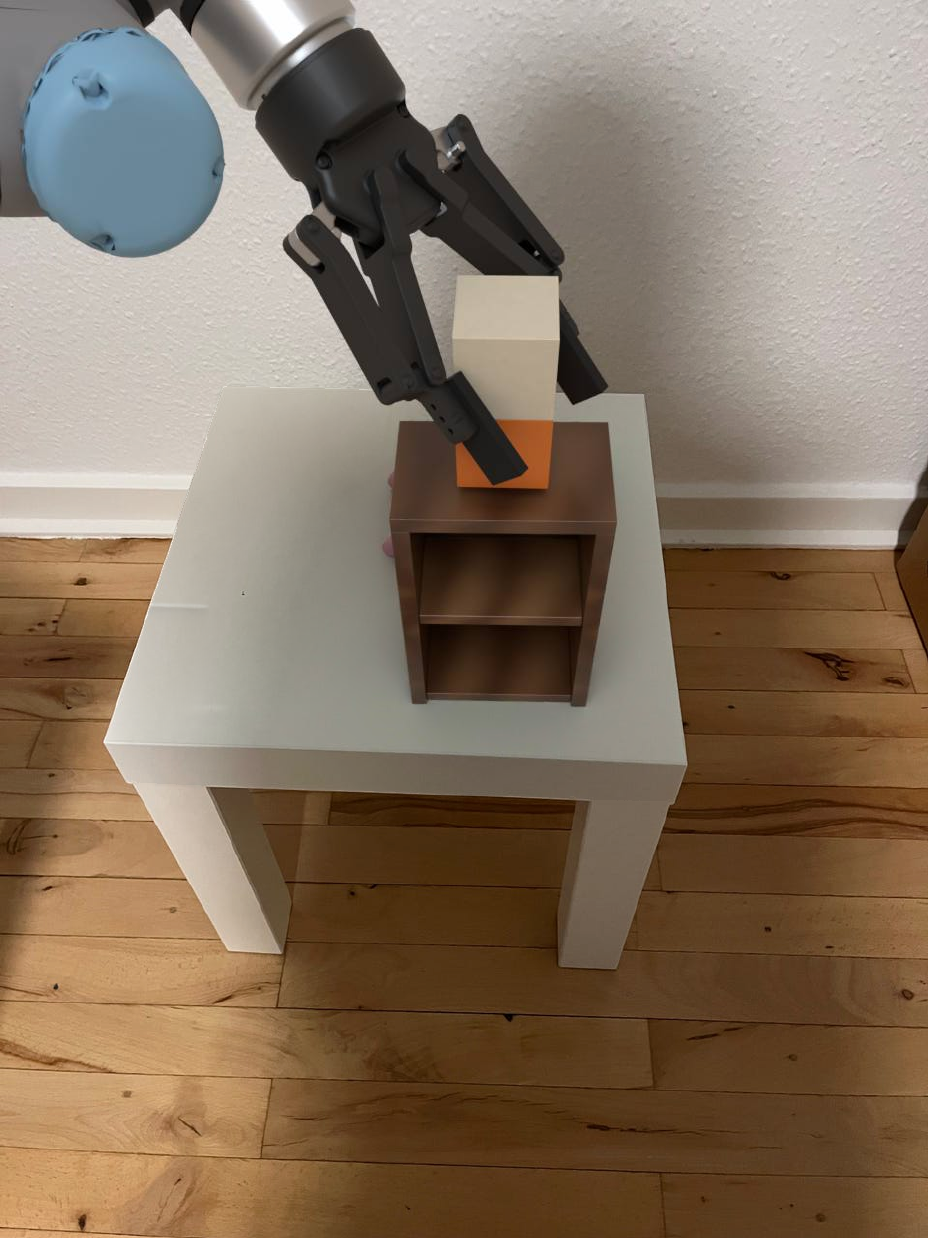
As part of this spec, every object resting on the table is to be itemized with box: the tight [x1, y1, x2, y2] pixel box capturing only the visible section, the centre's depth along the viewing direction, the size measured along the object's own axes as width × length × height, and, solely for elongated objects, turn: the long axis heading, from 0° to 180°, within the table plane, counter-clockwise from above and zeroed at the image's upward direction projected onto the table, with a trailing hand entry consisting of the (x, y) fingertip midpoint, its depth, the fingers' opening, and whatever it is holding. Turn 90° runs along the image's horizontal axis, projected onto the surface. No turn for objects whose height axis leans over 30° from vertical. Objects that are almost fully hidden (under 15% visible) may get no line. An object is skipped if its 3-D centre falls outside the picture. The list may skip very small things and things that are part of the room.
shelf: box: [388, 420, 618, 708], centre depth 68 cm, size 14×9×22 cm, turn 88°
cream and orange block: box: [451, 274, 560, 489], centre depth 54 cm, size 6×6×11 cm
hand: (551, 434), depth 54 cm, fingers closed on cream and orange block, 8 cm apart
